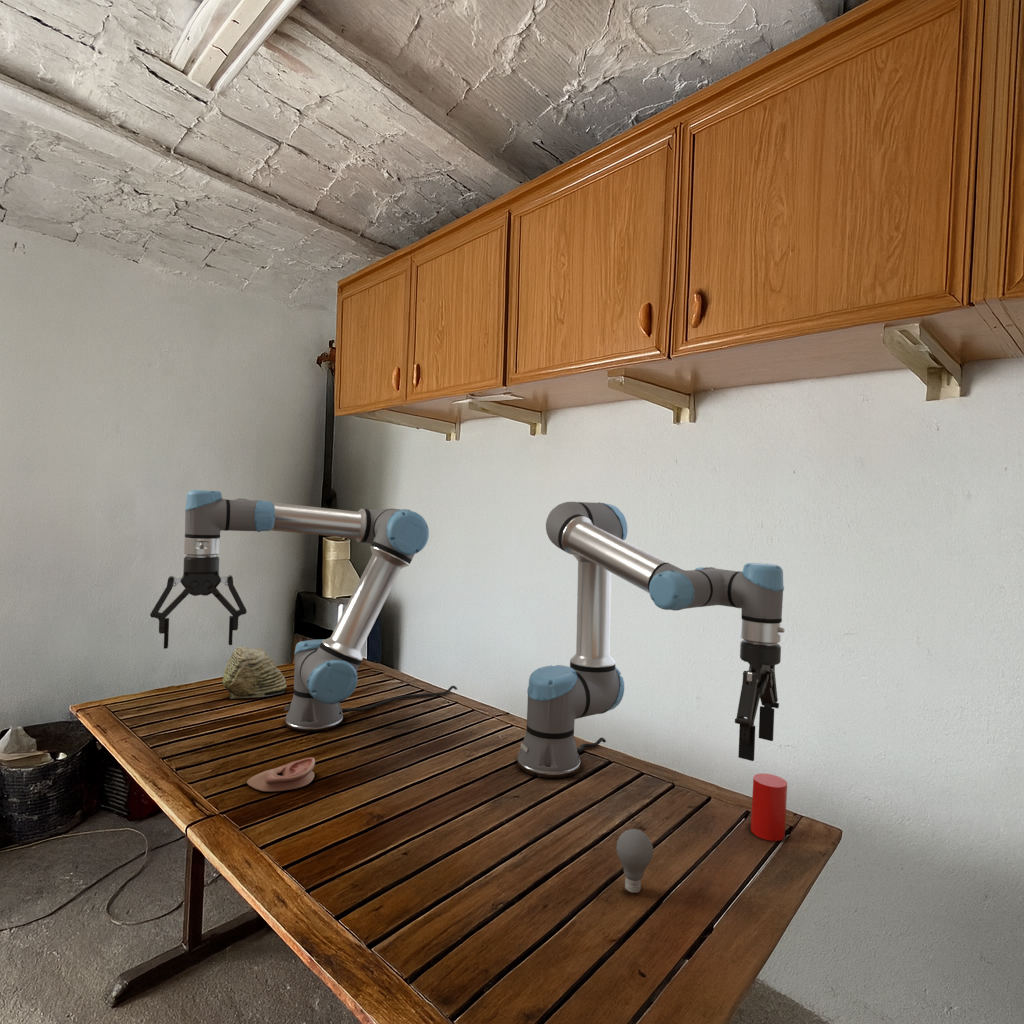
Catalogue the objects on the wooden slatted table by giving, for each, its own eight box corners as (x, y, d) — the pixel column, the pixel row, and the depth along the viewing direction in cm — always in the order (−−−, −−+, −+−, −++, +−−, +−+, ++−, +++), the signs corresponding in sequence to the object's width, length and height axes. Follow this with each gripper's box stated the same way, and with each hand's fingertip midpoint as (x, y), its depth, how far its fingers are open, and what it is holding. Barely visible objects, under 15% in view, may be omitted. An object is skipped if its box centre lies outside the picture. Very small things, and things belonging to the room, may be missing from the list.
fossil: (218, 695, 195) (220, 647, 195) (278, 685, 208) (279, 640, 207) (228, 703, 189) (230, 653, 188) (289, 692, 201) (290, 645, 201)
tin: (745, 832, 127) (748, 779, 127) (757, 821, 132) (760, 770, 131) (778, 844, 123) (781, 790, 122) (789, 832, 127) (791, 780, 127)
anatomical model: (238, 769, 136) (269, 749, 147) (238, 787, 136) (269, 766, 147) (295, 777, 133) (322, 756, 144) (294, 796, 133) (321, 773, 144)
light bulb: (610, 879, 108) (613, 822, 108) (644, 879, 109) (647, 822, 109) (619, 902, 102) (622, 840, 102) (655, 901, 103) (658, 840, 103)
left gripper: (138, 557, 140) (135, 652, 140) (259, 557, 151) (256, 646, 151) (142, 554, 147) (139, 645, 147) (258, 554, 157) (254, 639, 158)
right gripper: (762, 655, 113) (758, 773, 113) (795, 635, 133) (791, 736, 133) (720, 648, 118) (716, 762, 118) (758, 630, 138) (755, 727, 138)
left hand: (198, 645), depth 149 cm, fingers open, 13 cm apart
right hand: (756, 748), depth 125 cm, fingers open, 13 cm apart
